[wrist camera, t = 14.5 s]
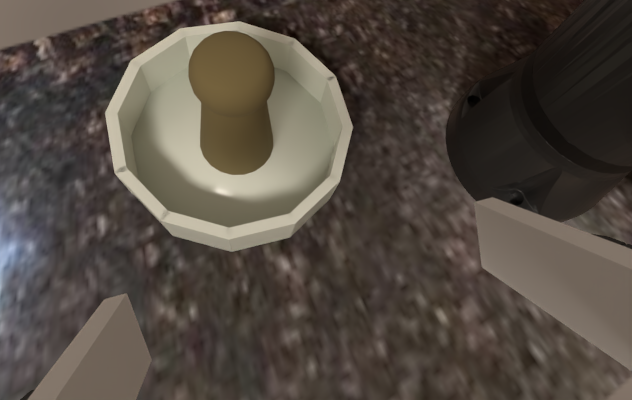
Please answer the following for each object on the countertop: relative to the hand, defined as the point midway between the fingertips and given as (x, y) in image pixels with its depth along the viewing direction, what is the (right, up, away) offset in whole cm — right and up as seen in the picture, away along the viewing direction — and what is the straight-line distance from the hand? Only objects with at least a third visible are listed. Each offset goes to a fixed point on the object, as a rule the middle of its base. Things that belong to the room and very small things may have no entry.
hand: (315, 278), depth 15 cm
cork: (-7, +8, +19) cm, 21 cm away
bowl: (-7, +7, +20) cm, 22 cm away
